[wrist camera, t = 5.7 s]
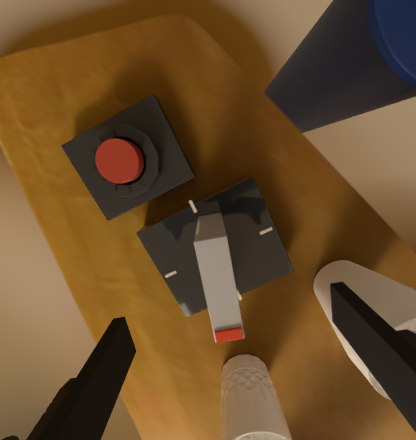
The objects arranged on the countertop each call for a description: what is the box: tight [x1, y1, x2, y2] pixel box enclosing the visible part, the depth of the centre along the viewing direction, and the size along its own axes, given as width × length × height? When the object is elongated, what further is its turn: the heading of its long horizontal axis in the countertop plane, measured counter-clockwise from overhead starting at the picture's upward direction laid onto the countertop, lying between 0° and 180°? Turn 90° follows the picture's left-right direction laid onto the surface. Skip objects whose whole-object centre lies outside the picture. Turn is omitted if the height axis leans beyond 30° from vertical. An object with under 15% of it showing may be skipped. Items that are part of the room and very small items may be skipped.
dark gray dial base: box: [137, 175, 294, 317], centre depth 26 cm, size 14×13×3 cm
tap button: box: [62, 94, 196, 221], centre depth 24 cm, size 11×9×4 cm
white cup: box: [221, 354, 292, 440], centre depth 28 cm, size 8×8×10 cm
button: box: [95, 138, 144, 183], centre depth 21 cm, size 4×4×2 cm
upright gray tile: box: [194, 213, 245, 343], centre depth 21 cm, size 9×2×8 cm, turn 11°
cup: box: [313, 260, 416, 400], centre depth 23 cm, size 9×9×12 cm
